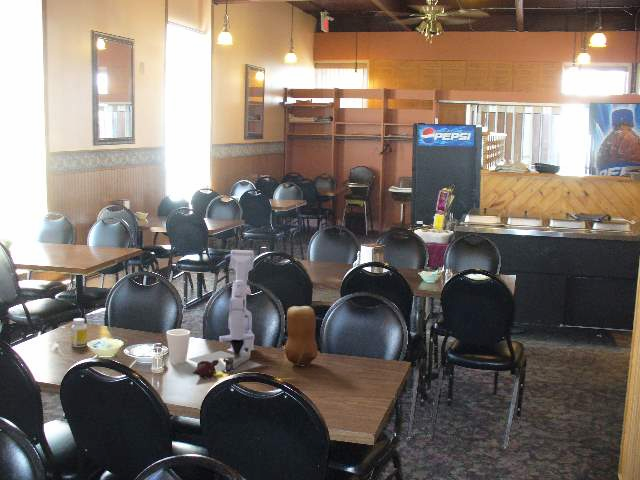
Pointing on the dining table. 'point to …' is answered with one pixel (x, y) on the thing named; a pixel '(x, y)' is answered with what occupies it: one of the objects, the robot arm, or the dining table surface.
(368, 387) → the dining table surface
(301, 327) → the butternut squash
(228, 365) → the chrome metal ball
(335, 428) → the dining table surface
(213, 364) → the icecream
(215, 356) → the board
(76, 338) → the pill bottle
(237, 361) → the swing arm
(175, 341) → the foam cup
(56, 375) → the dining table surface
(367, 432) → the dining table surface
